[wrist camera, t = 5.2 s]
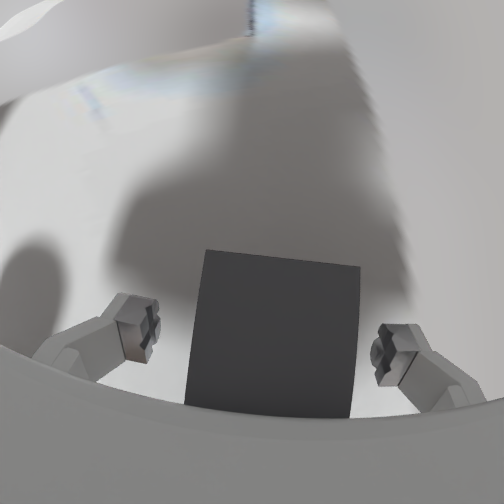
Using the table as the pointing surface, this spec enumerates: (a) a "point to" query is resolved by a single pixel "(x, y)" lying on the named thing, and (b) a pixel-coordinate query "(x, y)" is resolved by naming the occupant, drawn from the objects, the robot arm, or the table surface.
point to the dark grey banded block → (274, 337)
